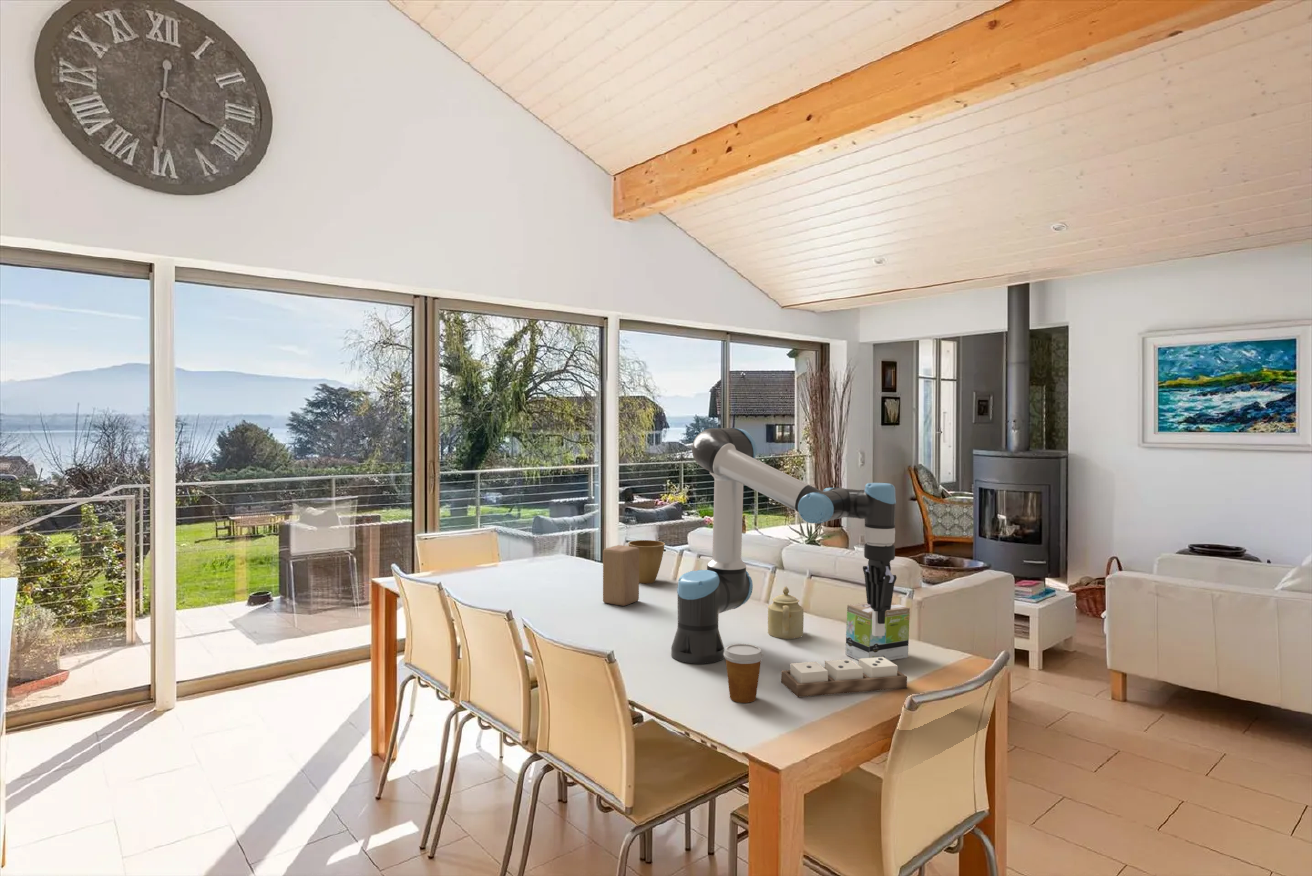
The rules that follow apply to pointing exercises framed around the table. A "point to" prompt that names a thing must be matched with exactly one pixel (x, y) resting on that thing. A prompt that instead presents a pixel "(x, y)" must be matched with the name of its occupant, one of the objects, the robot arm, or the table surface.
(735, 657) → the disposable coffee cup
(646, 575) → the plant pot
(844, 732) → the table surface
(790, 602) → the beige teapot
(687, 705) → the table surface
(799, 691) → the board
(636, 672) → the table surface
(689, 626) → the robot arm
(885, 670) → the tile
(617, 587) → the block
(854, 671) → the tile
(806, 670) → the tile
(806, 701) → the table surface
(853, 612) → the tea box
